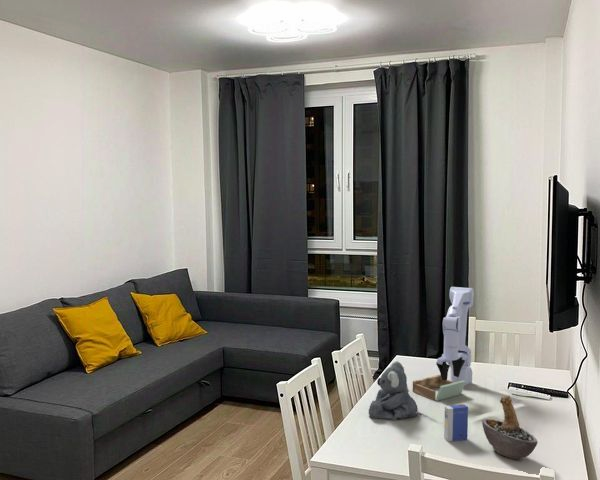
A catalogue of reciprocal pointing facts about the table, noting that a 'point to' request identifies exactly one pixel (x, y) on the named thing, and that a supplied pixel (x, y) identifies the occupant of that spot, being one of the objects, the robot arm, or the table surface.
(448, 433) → the walkman
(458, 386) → the panel
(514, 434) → the planter
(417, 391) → the crate
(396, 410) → the koala plush
